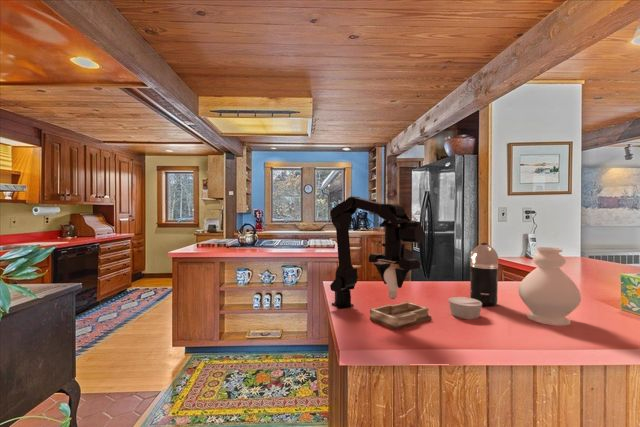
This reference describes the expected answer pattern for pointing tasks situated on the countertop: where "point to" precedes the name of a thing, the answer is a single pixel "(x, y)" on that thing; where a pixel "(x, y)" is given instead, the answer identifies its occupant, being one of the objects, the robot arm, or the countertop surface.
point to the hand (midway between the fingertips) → (392, 285)
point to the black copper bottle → (484, 275)
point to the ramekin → (465, 307)
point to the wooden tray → (399, 315)
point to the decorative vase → (549, 289)
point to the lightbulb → (391, 281)
